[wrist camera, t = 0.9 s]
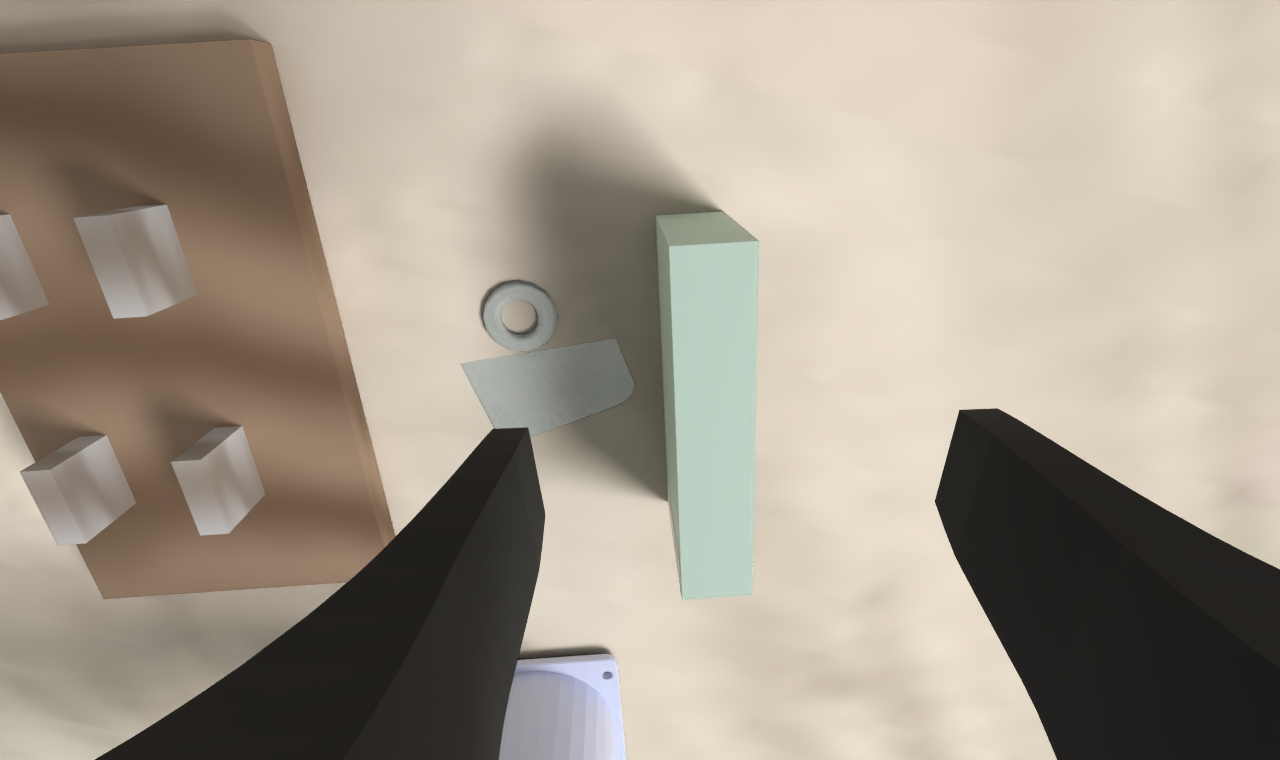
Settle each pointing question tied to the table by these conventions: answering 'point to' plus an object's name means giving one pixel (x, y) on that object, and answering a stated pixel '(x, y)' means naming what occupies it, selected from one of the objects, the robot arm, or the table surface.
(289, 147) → the cabinet base
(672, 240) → the door panel
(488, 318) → the mounting bracket
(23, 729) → the table surface
